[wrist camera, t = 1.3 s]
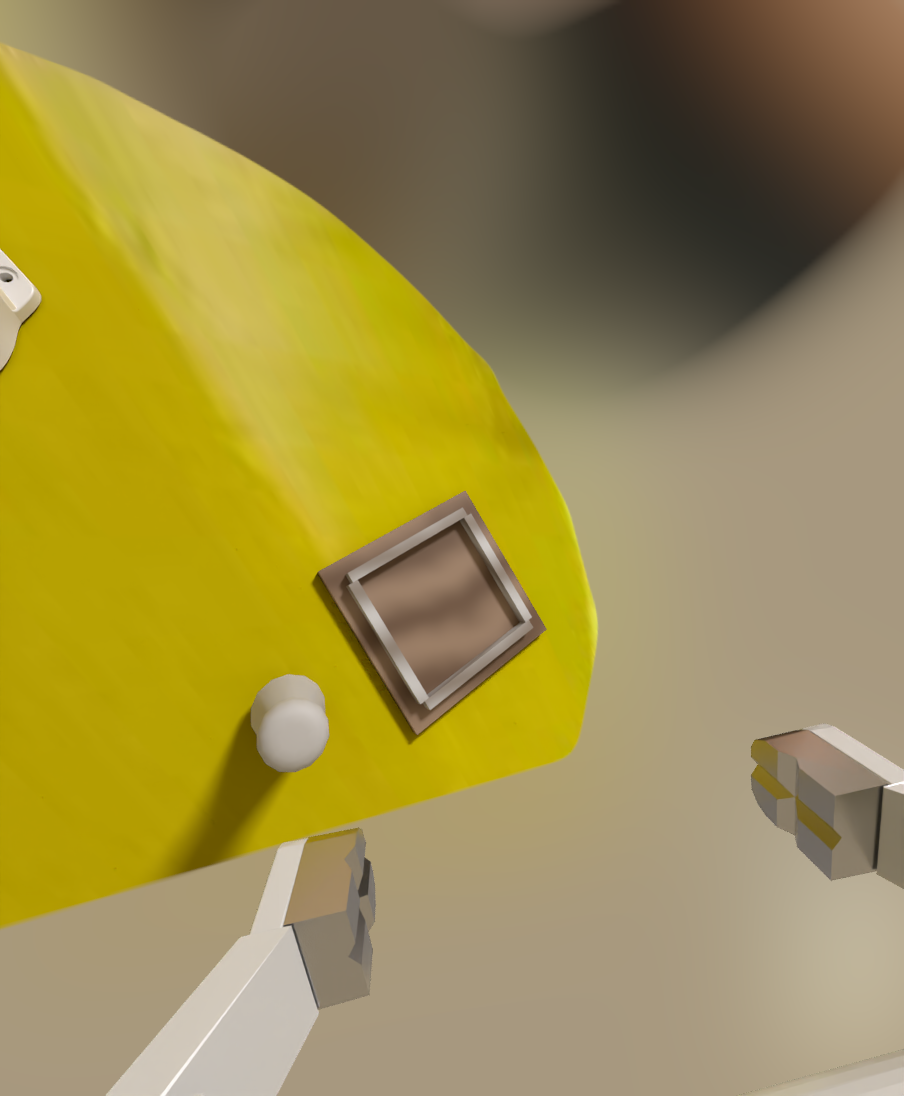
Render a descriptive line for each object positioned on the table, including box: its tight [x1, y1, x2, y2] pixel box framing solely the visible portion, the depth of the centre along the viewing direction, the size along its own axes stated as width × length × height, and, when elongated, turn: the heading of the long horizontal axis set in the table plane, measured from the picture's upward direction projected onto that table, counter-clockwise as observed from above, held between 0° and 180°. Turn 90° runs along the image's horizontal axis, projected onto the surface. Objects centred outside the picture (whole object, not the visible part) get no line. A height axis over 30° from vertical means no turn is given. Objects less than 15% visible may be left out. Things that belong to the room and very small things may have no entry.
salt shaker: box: [251, 674, 329, 772], centre depth 32 cm, size 6×6×13 cm
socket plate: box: [317, 491, 546, 735], centre depth 44 cm, size 18×18×2 cm
